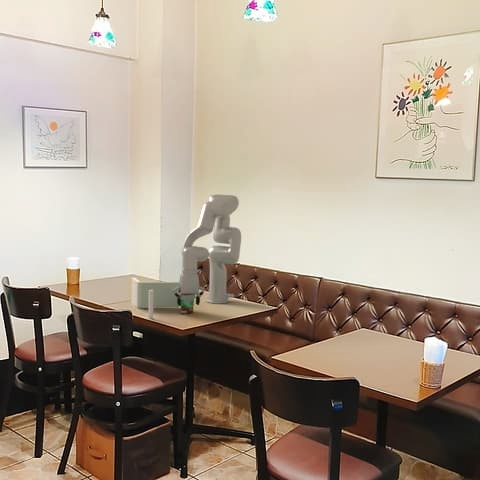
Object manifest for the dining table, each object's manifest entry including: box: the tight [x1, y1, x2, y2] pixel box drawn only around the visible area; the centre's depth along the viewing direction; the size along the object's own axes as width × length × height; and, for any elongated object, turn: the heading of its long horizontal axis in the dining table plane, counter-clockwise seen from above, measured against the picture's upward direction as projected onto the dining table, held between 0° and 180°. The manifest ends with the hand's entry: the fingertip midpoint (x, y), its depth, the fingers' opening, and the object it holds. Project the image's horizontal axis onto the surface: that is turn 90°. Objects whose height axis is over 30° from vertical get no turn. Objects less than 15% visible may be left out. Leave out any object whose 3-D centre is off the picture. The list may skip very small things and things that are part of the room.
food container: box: [180, 294, 197, 315], centre depth 304 cm, size 12×6×10 cm, turn 169°
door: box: [140, 281, 180, 309], centre depth 312 cm, size 3×20×14 cm, turn 99°
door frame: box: [131, 277, 154, 320], centre depth 305 cm, size 2×36×14 cm, turn 24°
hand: (188, 305), depth 304 cm, fingers open, 9 cm apart
